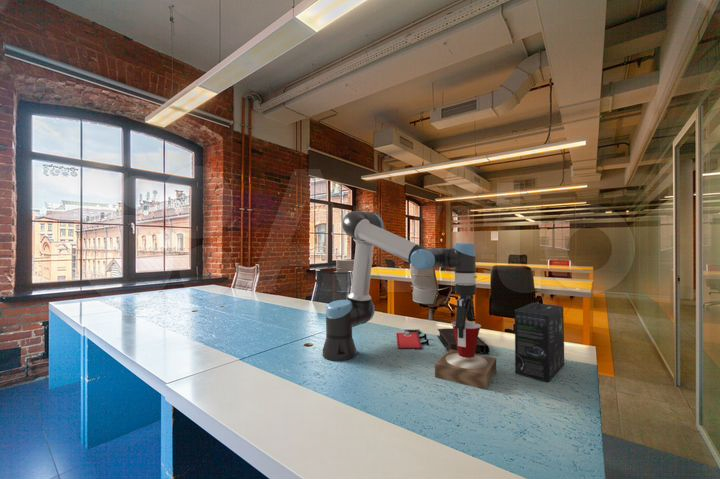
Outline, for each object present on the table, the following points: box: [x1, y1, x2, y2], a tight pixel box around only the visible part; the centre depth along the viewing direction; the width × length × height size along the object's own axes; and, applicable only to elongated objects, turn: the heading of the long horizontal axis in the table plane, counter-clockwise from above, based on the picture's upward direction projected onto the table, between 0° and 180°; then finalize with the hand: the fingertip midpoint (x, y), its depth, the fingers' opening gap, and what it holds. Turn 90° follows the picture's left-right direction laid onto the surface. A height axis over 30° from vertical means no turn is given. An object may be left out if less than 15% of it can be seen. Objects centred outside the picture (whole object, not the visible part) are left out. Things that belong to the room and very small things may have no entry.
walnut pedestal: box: [434, 349, 497, 390], centre depth 117 cm, size 18×18×5 cm
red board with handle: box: [396, 329, 430, 351], centre depth 159 cm, size 30×3×15 cm
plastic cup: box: [450, 321, 482, 358], centre depth 117 cm, size 11×11×12 cm
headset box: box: [514, 301, 565, 383], centre depth 121 cm, size 22×12×26 cm, turn 134°
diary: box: [437, 327, 491, 355], centre depth 150 cm, size 19×25×5 cm
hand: (466, 341), depth 117 cm, fingers closed on plastic cup, 11 cm apart
